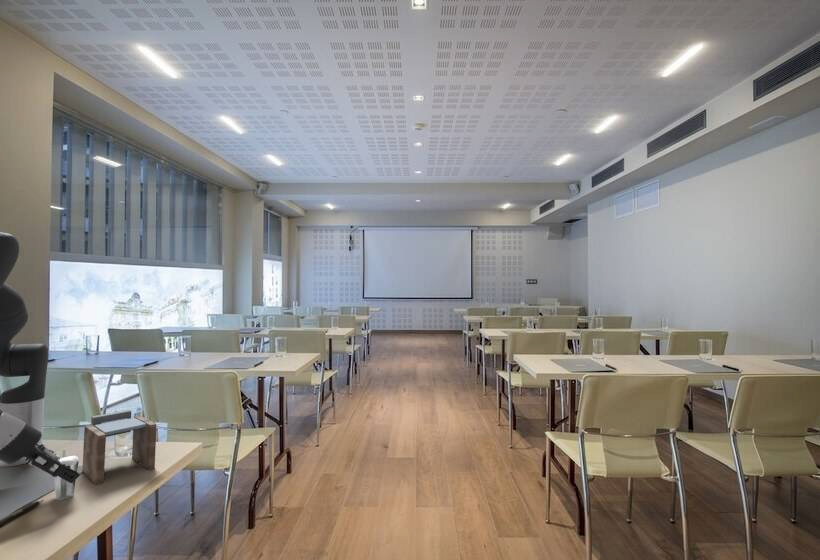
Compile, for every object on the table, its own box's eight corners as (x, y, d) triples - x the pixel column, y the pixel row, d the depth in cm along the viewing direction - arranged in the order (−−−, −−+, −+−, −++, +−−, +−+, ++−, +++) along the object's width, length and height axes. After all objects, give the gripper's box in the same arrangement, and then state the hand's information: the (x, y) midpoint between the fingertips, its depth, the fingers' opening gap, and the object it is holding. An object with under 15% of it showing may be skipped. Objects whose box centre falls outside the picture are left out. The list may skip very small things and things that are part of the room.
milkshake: (73, 489, 97) (76, 447, 98) (79, 496, 94) (81, 453, 95) (49, 496, 94) (51, 452, 95) (53, 503, 91) (56, 458, 91)
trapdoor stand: (82, 470, 108) (84, 425, 109) (137, 456, 118) (139, 415, 119) (96, 484, 100) (98, 435, 101) (154, 468, 110) (156, 423, 111)
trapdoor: (89, 438, 111) (90, 416, 112) (129, 430, 119) (129, 409, 119) (104, 449, 103) (105, 426, 103) (145, 440, 110) (146, 418, 111)
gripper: (29, 428, 85) (94, 466, 93) (18, 416, 94) (78, 452, 102) (-8, 461, 80) (63, 498, 88) (-16, 445, 89) (49, 480, 97)
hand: (71, 473), depth 95 cm, fingers open, 8 cm apart
